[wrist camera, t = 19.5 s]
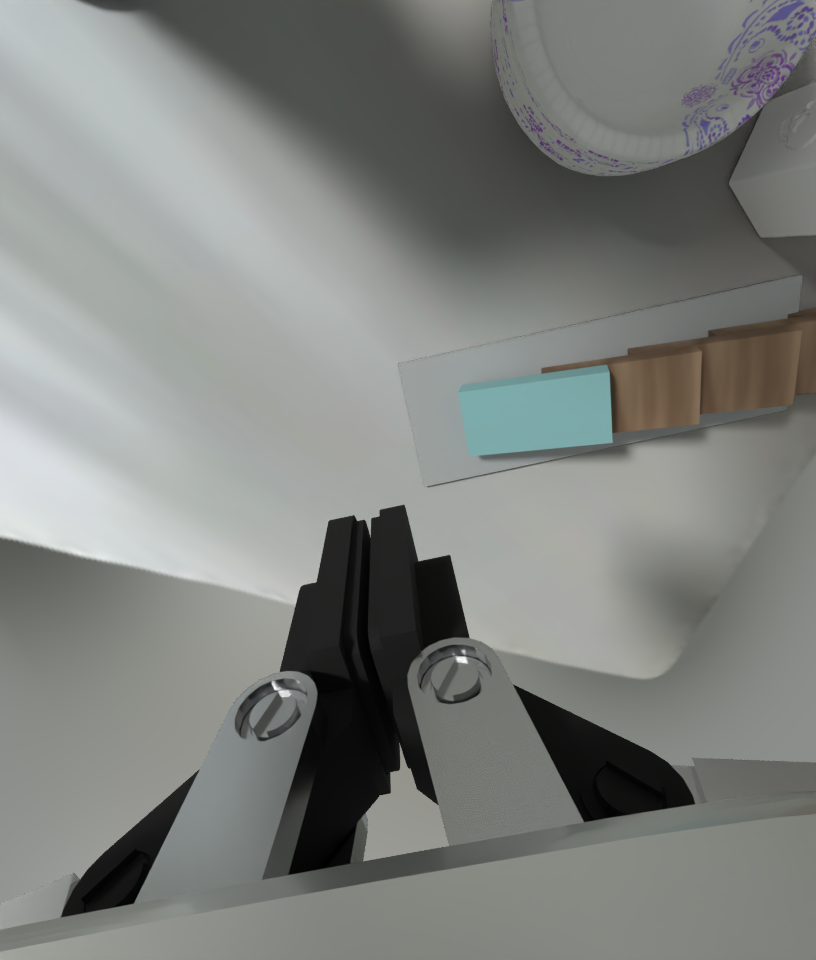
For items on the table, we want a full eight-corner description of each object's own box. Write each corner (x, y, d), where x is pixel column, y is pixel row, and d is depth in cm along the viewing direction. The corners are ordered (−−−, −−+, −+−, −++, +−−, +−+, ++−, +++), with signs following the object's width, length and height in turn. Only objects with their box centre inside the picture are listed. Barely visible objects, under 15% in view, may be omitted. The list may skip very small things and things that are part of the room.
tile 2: (547, 439, 37) (699, 424, 34) (541, 374, 35) (701, 351, 32) (547, 430, 38) (692, 415, 35) (541, 367, 36) (694, 345, 33)
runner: (424, 484, 40) (424, 486, 40) (397, 363, 36) (398, 364, 36) (783, 408, 39) (786, 410, 39) (798, 274, 35) (803, 274, 34)
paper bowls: (494, -170, 25) (540, -342, 18) (776, -137, 26) (927, -288, 19) (465, 177, 31) (490, 153, 24) (694, 192, 32) (784, 173, 25)
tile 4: (712, 403, 36) (881, 385, 33) (715, 335, 34) (896, 308, 31) (705, 396, 38) (867, 378, 35) (708, 330, 36) (880, 304, 33)
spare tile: (469, 456, 37) (612, 442, 34) (457, 392, 35) (609, 371, 32) (472, 446, 38) (609, 433, 35) (461, 385, 36) (606, 364, 33)
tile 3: (632, 421, 36) (793, 404, 33) (630, 354, 34) (802, 330, 31) (628, 413, 38) (782, 396, 35) (627, 348, 36) (790, 324, 33)
